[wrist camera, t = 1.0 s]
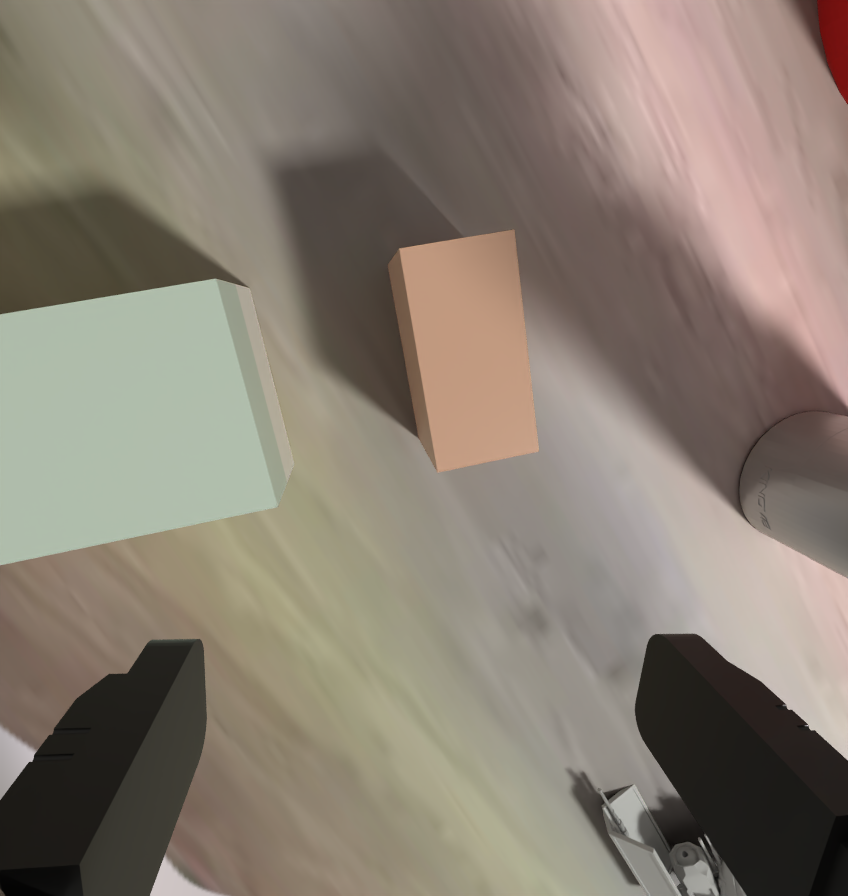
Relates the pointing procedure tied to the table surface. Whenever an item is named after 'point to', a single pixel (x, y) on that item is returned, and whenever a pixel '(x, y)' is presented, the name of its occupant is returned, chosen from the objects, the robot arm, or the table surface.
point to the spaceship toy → (663, 853)
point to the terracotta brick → (465, 348)
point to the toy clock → (835, 40)
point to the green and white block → (135, 418)
